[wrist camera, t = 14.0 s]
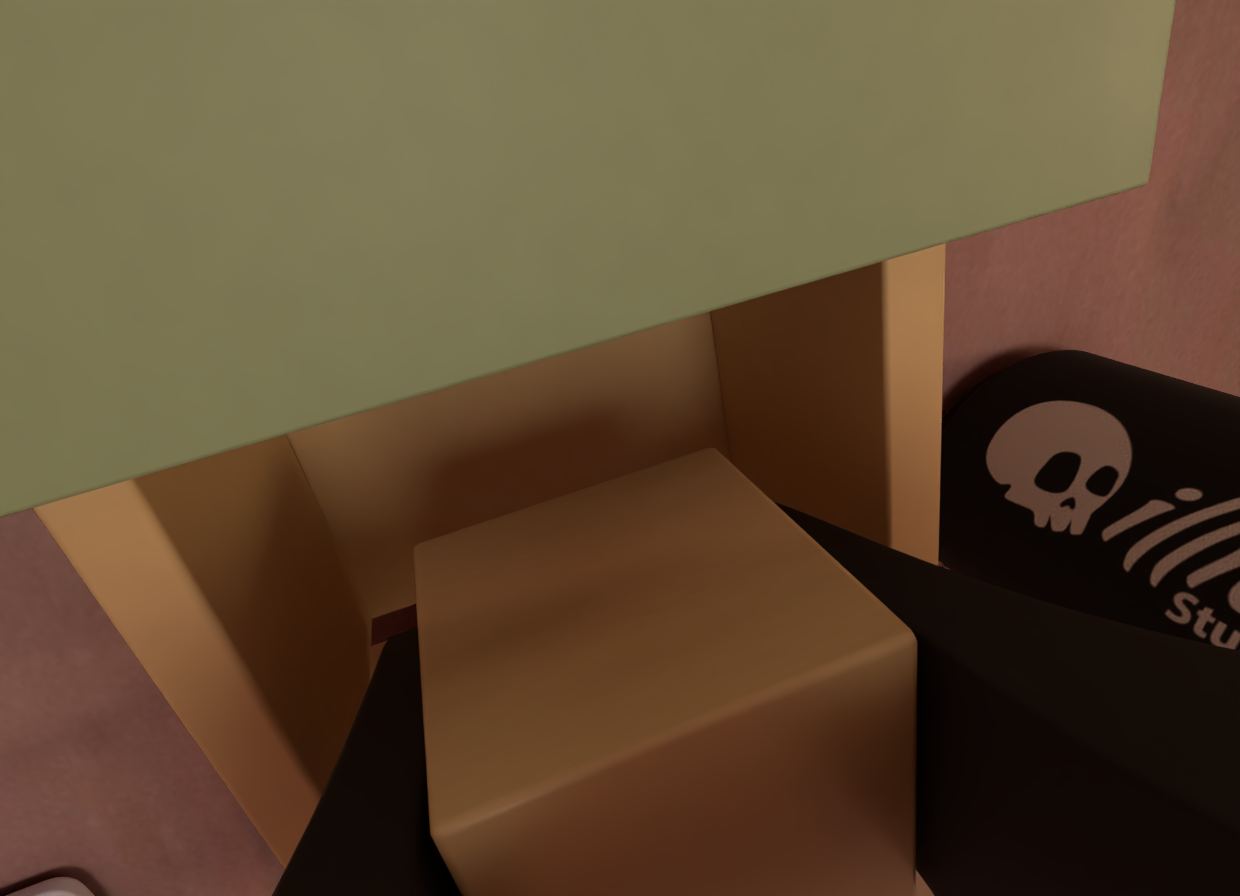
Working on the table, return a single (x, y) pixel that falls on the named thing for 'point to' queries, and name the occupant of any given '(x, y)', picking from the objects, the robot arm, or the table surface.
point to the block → (663, 699)
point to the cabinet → (487, 187)
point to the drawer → (493, 501)
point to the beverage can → (1098, 493)
